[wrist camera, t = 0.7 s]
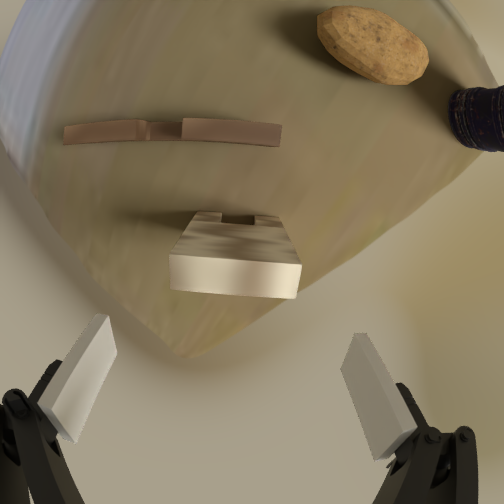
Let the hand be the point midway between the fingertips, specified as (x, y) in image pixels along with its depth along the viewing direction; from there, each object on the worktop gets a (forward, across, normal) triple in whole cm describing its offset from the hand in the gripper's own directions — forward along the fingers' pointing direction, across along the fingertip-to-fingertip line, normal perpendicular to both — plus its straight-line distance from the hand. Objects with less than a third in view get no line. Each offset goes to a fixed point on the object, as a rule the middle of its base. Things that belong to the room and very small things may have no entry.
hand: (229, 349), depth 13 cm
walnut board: (+22, -8, +11) cm, 26 cm away
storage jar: (+22, +34, +22) cm, 46 cm away
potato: (+22, +13, +25) cm, 36 cm away
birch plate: (+22, 0, 0) cm, 22 cm away
